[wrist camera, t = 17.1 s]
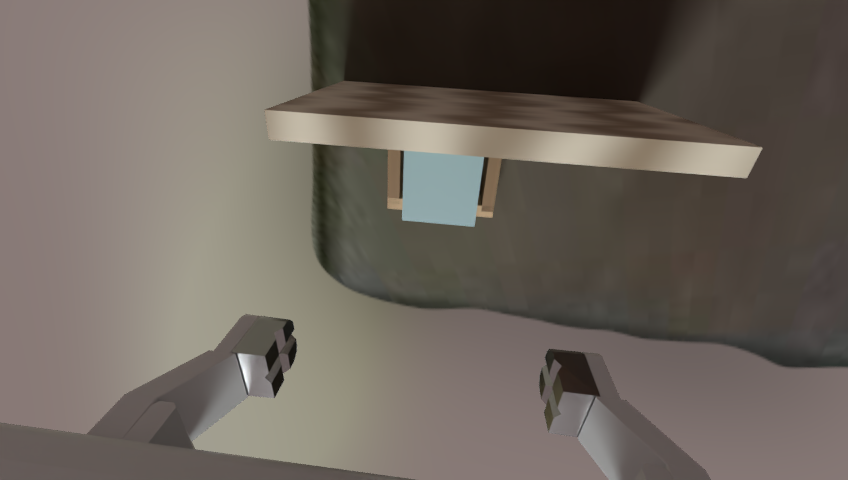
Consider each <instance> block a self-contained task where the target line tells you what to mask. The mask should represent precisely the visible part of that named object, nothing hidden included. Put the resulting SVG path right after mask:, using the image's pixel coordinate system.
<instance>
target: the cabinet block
mask: <svg viewBox="0 0 848 480" xmlns="http://www.w3.org/2000/svg"><path fill="white" fill-rule="evenodd" d="M483 161H484V157H477V156H465V155H452V154H440V153H427V152H415V151H404V169H403V206H402V220H406V221H417V222H428V223H439V224H450V225H461V226H472V227H474V226H475V219H476V212H477V205H478V197H479V190H480V183H481V176H482V169H483Z"/></svg>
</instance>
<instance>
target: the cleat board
mask: <svg viewBox="0 0 848 480" xmlns="http://www.w3.org/2000/svg"><path fill="white" fill-rule="evenodd" d="M265 117H266V123H267V130H268V136H269V140H278V141H290V142H303V143H315V144H328V145H340V146H353V147H365V148H377V149H388V208H390V209H401V210H402V206H403V169H404V151H415V152H427V153H440V154H452V155H465V156H477V157H484V163H483V170H482V177H481V185H480V190H479V197H478V205H477V212H476V216H479V217H491V218H492V215H493V209H494V203H495V197H496V191H497V185H498V179H499V172H500V166H501V160H502V159H514V160H527V161H539V162H552V163H564V164H577V165H589V166H602V167H614V168H627V169H639V170H651V171H664V172H676V173H689V174H701V175H714V176H726V177H739V178H747V177H748V175H749V173H750V171H751V169H752V167H753V165H754V163H755V161H756V159H757V158H758V156H759V154H760V152H761V150H762V147H760V146H757V145H754V144H752V143H749V142H746V141H743V140H741V139H738V138H735V137H733V136H730V135H727V134H724V133H722V132H719V131H716V130H714V129H711V128H708V127H705V126H703V125H700V124H697V123H695V122H692V121H689V120H686V119H684V118H681V117H678V116H676V115H673V114H670V113H667V112H665V111H662V110H659V109H657V108H654V107H651V106H648V105H646V104H643V103H640V102H638V101H624V100H610V99H596V98H582V97H567V96H553V95H539V94H525V93H511V92H496V91H482V90H468V89H454V88H439V87H425V86H411V85H397V84H383V83H368V82H354V81H342V82H339V83H336V84H334V85H331V86H328V87H325V88H323V89H320V90H317V91H314V92H312V93H309V94H306V95H304V96H301V97H298V98H295V99H293V100H290V101H287V102H285V103H282V104H279V105H276V106H274V107H271V108H268V109H265Z"/></svg>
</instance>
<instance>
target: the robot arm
mask: <svg viewBox="0 0 848 480" xmlns="http://www.w3.org/2000/svg"><path fill="white" fill-rule="evenodd" d="M293 331H294V325H293V321H291V320H287V319H280V318H273V317H265V316H255V315H248V314H246V315H244V316H242V317H241V318H240V319H239V320H238V322H237V323H236V324H235V325H234V327H233V328H232V329H231V330H230V331H229V333H228V334H227V335H226V336H225V338H224V339H223V340H222V341H221V343H220V344H219V345H218V346H217V348H216V349H215V350H214V351H207V352H205V353H203V354H202V355H200V356H198V357H196V358H194V359H192V360H190V361H188V362H186V363H184V364H182V365H180V366H178V367H177V368H175V369H173V370H171V371H169V372H167V373H165V374H163V375H161V376H160V377H158V378H155V379H154V380H152V381H150V382H148V383H146V384H144V385H142V386H140V387H138V388H136V389H134V390H133V391H131V392H129V393H127V394H125V395H124V396H123V397H122V398H121V399H120V400H119V401H118V402H117V403H116V404H115V405H114V406H113V407H112V408H111V409H110V410H109V411H108V412H107V414H106V415H105V416H104V417H103V418H102V419H101V420H100V421H99V422H98V423H97V424H96V425H95V426H94V427H93V428H92V429H91V430H90V431H89V432H88V433H87V434H79V433H72V432H65V431H58V430H50V429H43V428H36V427H28V426H21V425H14V424H7V423H0V480H414V479H407V478H400V477H392V476H385V475H377V474H371V473H363V472H356V471H348V470H341V469H334V468H327V467H320V466H312V465H305V464H297V463H291V462H283V461H276V460H268V459H261V458H254V457H247V456H240V455H232V454H225V453H218V452H209V451H203V450H196V449H195V448H194V446H193V443H192V441H193V440H194V439H195V438H197V437H198V436H199V435H200V434H202V433H203V432H204V431H206V430H207V429H208V428H209V427H211V426H212V425H213V424H214V423H216V422H217V421H218V420H219V419H221V418H222V417H223V416H224V415H226V414H227V413H228V412H230V411H231V410H232V409H233V408H235V407H236V406H237V405H238V404H240V403H241V402H242V401H243V400H245V399H246V398H247V397H248V396H259V397H268V398H275V396H276V395H277V393H278V391H279V389H280V387H281V385H282V383H283V381H284V376H283V373H284V372H286V371H287V370H289V369H290V368H291V366H292V364H293V362H294V360H295V356H296V352H297V343H296V339H295V338H294V337H293V336H292V335H291V334H292V332H293ZM545 360H546V364H547V365H545V366H544V367H542V369H541V373H540V380H539V388H540V395H541V399H542V400H543V401H544V403H545V404H546V407H545V410H544V415H545V419H546V424H547V429H548V432H549V433H554V434H561V435H566V436H573V437H578V440H579V441H580V443H581V444H582V445H583V447H584V448H585V449H586V450H587V452H588V453H589V454H590V456H591V457H592V458H593V459H594V461H595V462H596V463H597V465H598V466H599V467H600V469H601V470H602V471H603V473H604V474H605V475H606V477H607V478H608V479H609V480H711V479H710V477H709V476H708V474H707V472H706V470H705V469H703V468H702V467H701V466H700V465H699V464H698V463H697V462H695V461H694V460H693V459H692V458H691V457H690V456H689V455H688V454H686V453H685V452H684V451H683V450H682V449H681V448H680V447H678V446H677V445H676V444H675V443H674V442H673V441H672V440H671V439H669V438H668V437H667V436H666V435H665V434H664V433H663V432H661V431H660V430H659V429H658V428H657V427H656V426H655V425H653V424H652V423H651V422H650V421H649V420H648V419H647V418H645V417H644V416H643V415H642V414H641V413H640V412H638V410H636V409H635V408H634V407H633V406H632V405H631V404H630V403H629V402H627V401H626V400H621V399H620V397H619V394H618V392H617V390H616V387H615V385H614V383H613V381H612V379H611V376H610V374H609V372H608V369H607V367H606V365H605V362H604V360H603V358H602V356H601V355H600V354H595V353H585V352H582V353H581V352H575V351H564V350H555V349H549V350H548V351H547V353H546V356H545ZM247 395H248V396H247Z"/></svg>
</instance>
